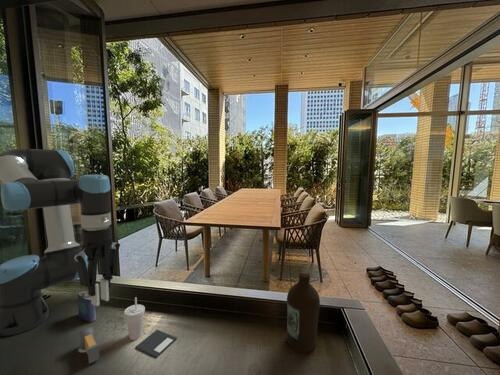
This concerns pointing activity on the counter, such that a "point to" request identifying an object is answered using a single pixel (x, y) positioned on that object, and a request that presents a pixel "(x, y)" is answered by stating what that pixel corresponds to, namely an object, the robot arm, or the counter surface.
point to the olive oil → (302, 314)
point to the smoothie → (134, 320)
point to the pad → (156, 343)
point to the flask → (86, 307)
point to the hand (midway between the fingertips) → (100, 301)
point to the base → (83, 350)
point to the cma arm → (89, 344)
